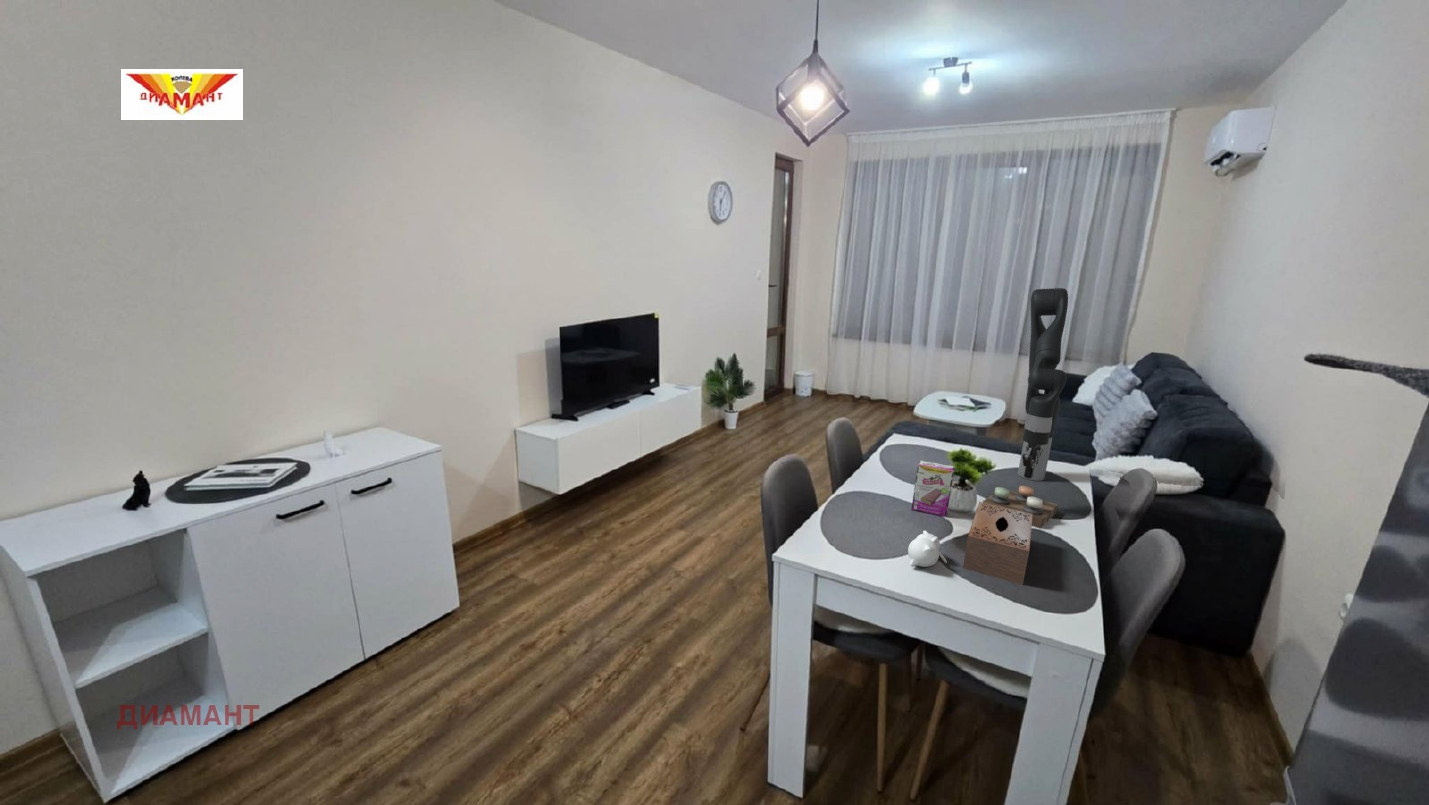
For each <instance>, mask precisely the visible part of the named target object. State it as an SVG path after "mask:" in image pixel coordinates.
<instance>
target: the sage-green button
mask: <svg viewBox="0 0 1429 805" xmlns="http://www.w3.org/2000/svg"><path fill="white" fill-rule="evenodd" d="M1010 491H1011V490H1010V489H1008V488H1006V487H1002V486H996V487H995V488H994V493H993V494H995V495H996V496H998V497H1001V498H1008V497H1009V493H1010Z"/></svg>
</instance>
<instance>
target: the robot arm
mask: <svg viewBox="0 0 1429 805" xmlns="http://www.w3.org/2000/svg"><path fill="white" fill-rule="evenodd" d="M1068 308H1069V292H1068V290H1067V289H1066V288H1062V287H1055V288H1054V287H1053V288H1037V289H1034V290H1033V291H1032V292H1031V296H1030V339H1029V340H1030V341H1029V356H1028V378H1027V389H1026V390H1027V391H1026V399H1025V413H1026V414H1027V415H1026V418H1025V423H1024V427H1023V428H1024V429H1023V434H1022V441H1023V443H1022V447H1021V448H1022V449H1021V453H1020V454H1021V455H1020V459H1019V465H1018V471H1017V475H1018V476H1019V477H1021V478H1023V479H1025V480H1029V481H1037V482H1038V481H1044V480H1045V477H1046V472H1047V467H1048V461H1049V457H1050V452H1051V447H1052V443H1053V442H1052V441H1053V436H1054V432H1055V428H1056V424H1057V423H1056V422H1057V419H1058V417H1059V416H1058V415H1059V412H1060V409H1061V398H1060V397H1059V396H1060V394H1061V393H1062V391H1063V389H1065V386H1066V383H1067V379H1068V378H1067V374H1066V373H1065V371H1064V370H1062V369H1056V368H1057V367H1058V365H1059V364H1060V363H1061V359H1062V358H1061V356H1062V354H1061V353H1062V339H1063V334H1064V329H1065V324H1066V321H1067V320H1066V318H1067V314H1068ZM1042 316H1043V317H1044V316H1045V317H1046V316H1048V317H1049V316H1055V317H1054V319H1053V321H1052V322H1051V323H1050V325H1049V326H1048V327H1047V328H1046V327H1045V324H1044V322H1043V319H1042ZM1040 390H1041V391H1047V392H1048V391H1049V392H1048V393H1042V392H1040Z"/></svg>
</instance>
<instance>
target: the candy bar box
mask: <svg viewBox="0 0 1429 805" xmlns="http://www.w3.org/2000/svg"><path fill="white" fill-rule="evenodd" d="M916 468H917V469H916V476H915V482H914V490H913V496H912V502H911V510H912V511H916V512H921V513H926V514H929V513H930V515H934V514H935V516H939V517H944V518H946V517H947V515H948V510H949V505H950V498H951V493H952V487H953V480H954V473H955V468H956V467H955V465H948V464H941V463H937V462H932V461H925V460H919V462H918V464H917V467H916Z"/></svg>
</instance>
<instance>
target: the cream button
mask: <svg viewBox="0 0 1429 805" xmlns="http://www.w3.org/2000/svg"><path fill="white" fill-rule="evenodd" d="M1043 500H1044V499H1042V498H1040V497H1037V496H1032V497H1027V502H1026V504H1027V505H1028V506H1030V507H1034V508H1041V507H1042V503H1043Z"/></svg>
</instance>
